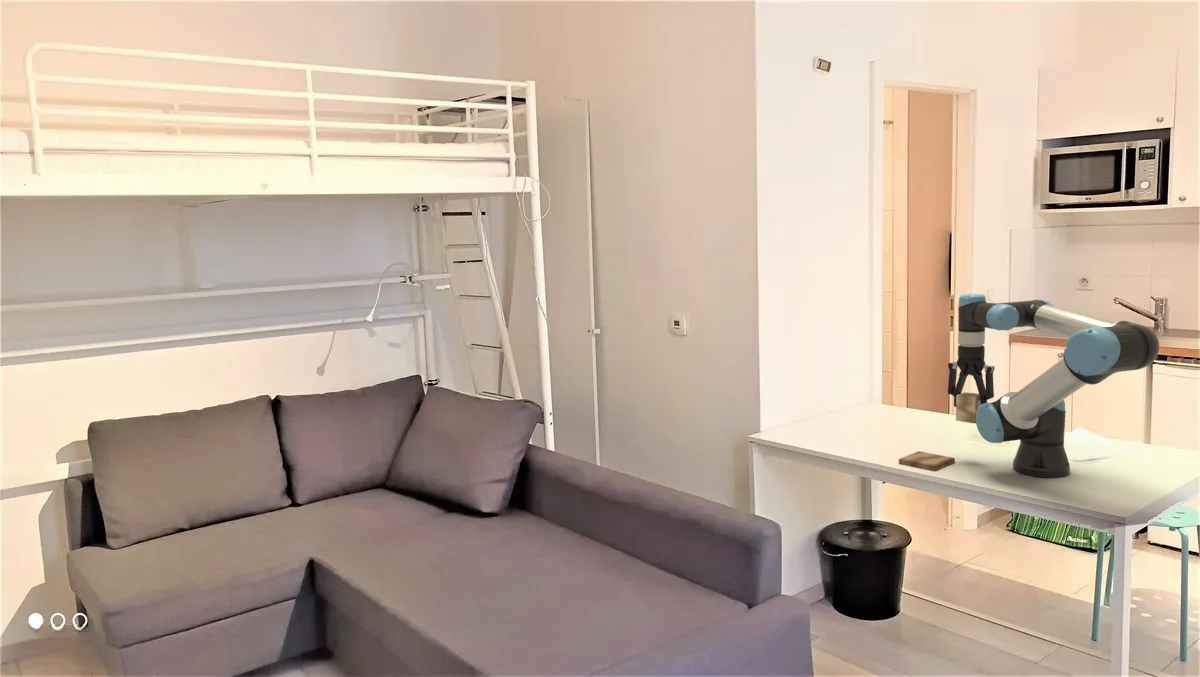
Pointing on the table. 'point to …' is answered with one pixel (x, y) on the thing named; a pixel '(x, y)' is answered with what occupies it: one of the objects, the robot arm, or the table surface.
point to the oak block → (966, 407)
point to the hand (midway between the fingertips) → (970, 419)
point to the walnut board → (927, 461)
